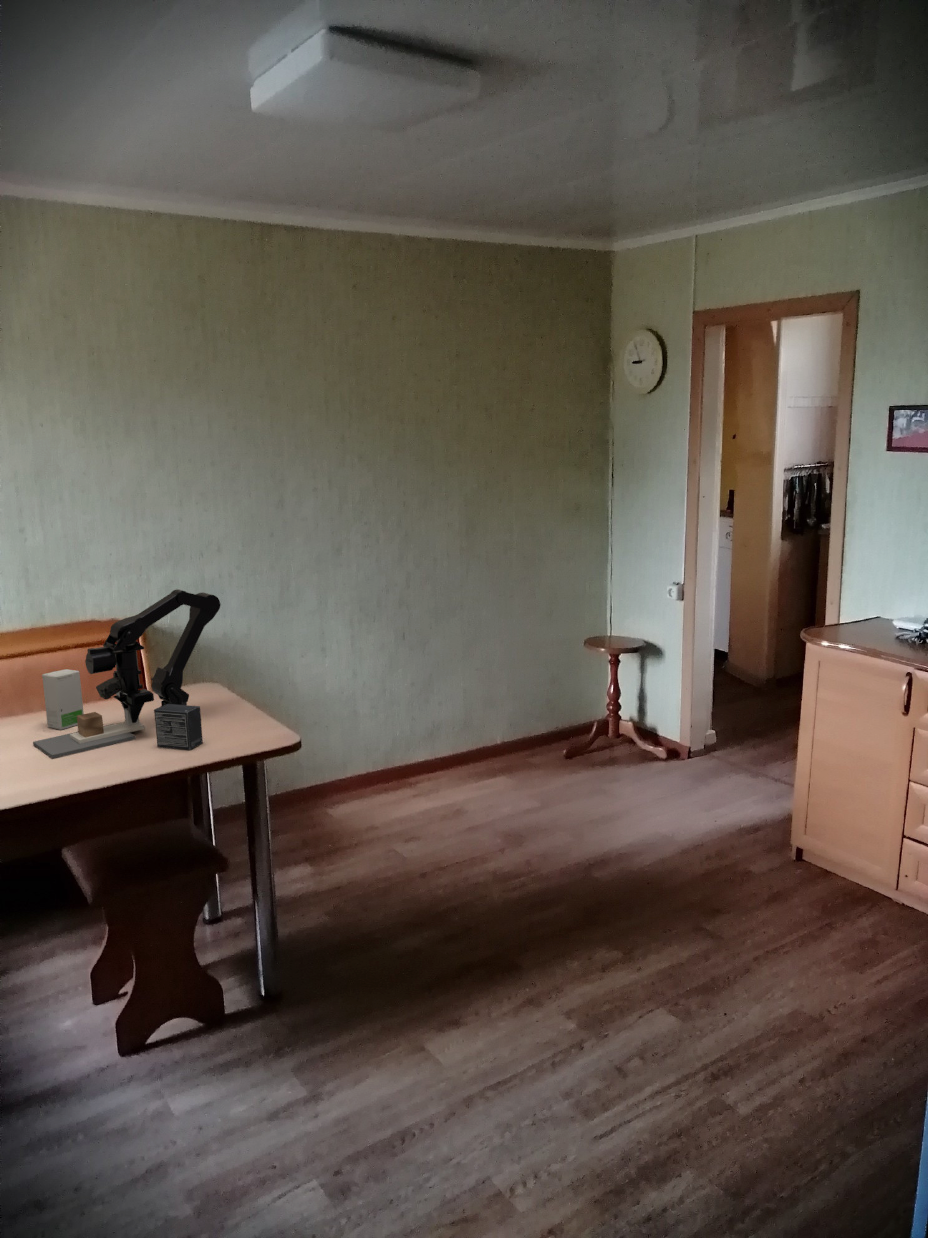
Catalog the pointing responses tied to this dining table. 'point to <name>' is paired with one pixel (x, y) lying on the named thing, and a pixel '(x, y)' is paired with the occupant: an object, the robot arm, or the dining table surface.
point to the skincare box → (62, 698)
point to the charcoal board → (76, 744)
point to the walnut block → (90, 724)
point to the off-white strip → (112, 729)
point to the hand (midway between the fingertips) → (132, 721)
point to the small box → (178, 726)
